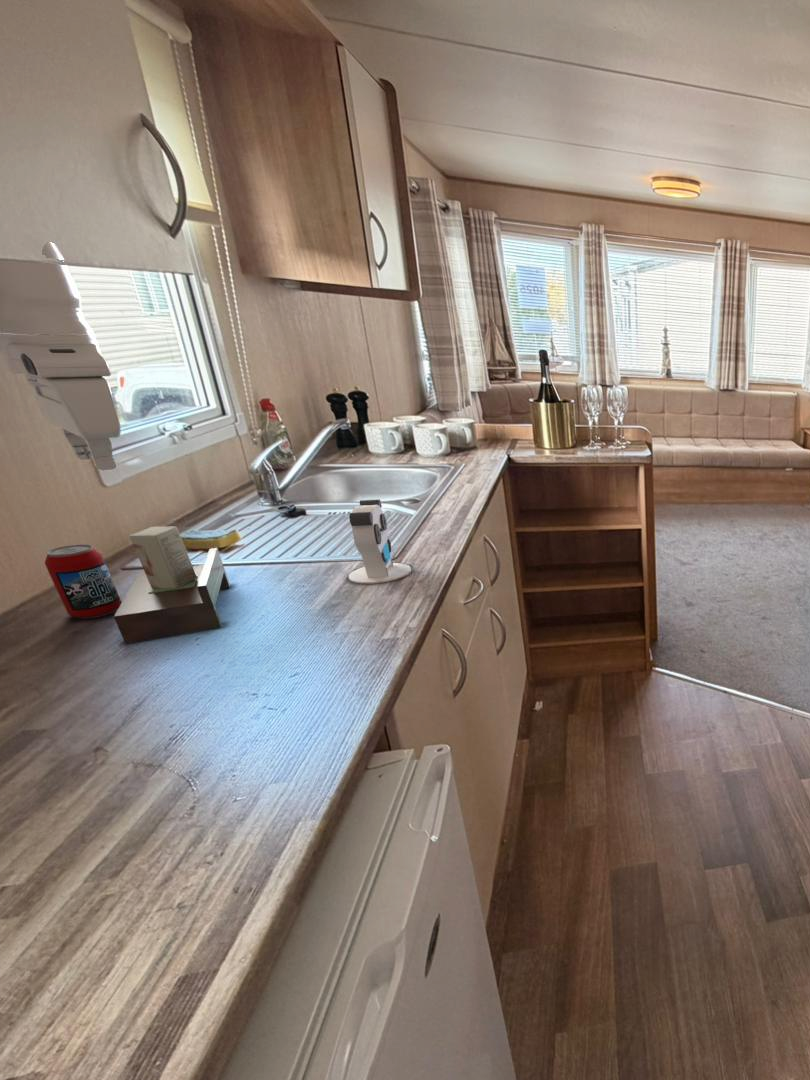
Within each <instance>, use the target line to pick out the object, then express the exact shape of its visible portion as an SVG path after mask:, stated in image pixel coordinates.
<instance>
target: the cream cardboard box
mask: <svg viewBox="0 0 810 1080" xmlns="http://www.w3.org/2000/svg"><path fill="white" fill-rule="evenodd" d="M128 537H129V539H130V542H131V544H132V546H133V548H134V550H135V553H136V555H137V558H138V559H139V562H140V564H141V567H142V569H143V572H145V574H146V576H147V578H148V581H149V583H150V585H151V588H158V589H163V588H165V589H171V588H179V587H181V586H183V585H185V584H186V583H188V582H190V581H192V580H194V579H196V578H197V576H196V574H195V571H194V569H193V566H194V565H193V564H192V562H191V558H190V556H189V554H188V551H187V549H186V545H185V544H184V541H183V538H182V536H181V533H180V530H179V529H178V527H177V526H175V525H174V526H168V525H167V526H159V525H156V526H155V525H154V526H152V525H151V526H149V527H146V528H144V529H141V530H138V531H136V532H134V533H131V534H129V535H128Z"/></svg>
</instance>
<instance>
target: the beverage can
mask: <svg viewBox="0 0 810 1080" xmlns="http://www.w3.org/2000/svg"><path fill="white" fill-rule="evenodd" d="M44 565H45V568H46V570H47V572H48V574H49V576H50V578H51V581H52V582H53V585H54V588H55V589H56V591H57V594H58V595H59V598H60V600H61V602H62V604H63V606H64V608H65V611H66V612H67V614H68V615H69V616H70V617H74V618H79V619H95V618H100V617H104V616H108V615H111V614H112V613H116V612H117V610H118V608H119V606H120V605H121V603H122V599H121V597H120V595H119V592H118V589H117V587H116V585H115V582H114V580H113V577H112V576H111V575H112V574H111V573H110V571H109V569H108V566H107V564H106V561H105V559H104V556H103V554H102V553H101V552H100V551H98V550H97V549H95V547H93V545H90V544H72V545H70V544H69V545H63V546H59V547H56V548H52V549H49V550H48V551H47V552H46V557H45V560H44Z"/></svg>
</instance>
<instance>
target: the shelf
mask: <svg viewBox="0 0 810 1080" xmlns="http://www.w3.org/2000/svg"><path fill="white" fill-rule="evenodd" d="M192 566H193V569H194V571H195V574H196V576H197V578H196V579H194V580H192V581H190V582H188V583H186V584H185V585H183V586H181V587H179V588H171V589H165V588H163V589H158V588H151V585H150V583H149V581H148V578H147V576H146V574H145V571H142V572H138V573H137V574H136V575H135V578H134V580H133V581H132V583H131V584H130V586H129V588H128V590H127V592H126V594H125V596H124V598H123V599H122V600H121V602H122V603H121V605H120V606H119V608H118V609H117V610H116V611H115V612H114V614H113V615H114V616H113V619H114V621H115V623H116V626H117V628H118V631H119V633H120V635H121V637H122V639H123V641H124V644H125V645H127V644H133V643H138V642H145V641H151V640H156V639H162V638H163V639H164V638H167V637H169V638H170V637H173V636H179V635H185V634H192V633H197V632H203V631H210V630H214V629H221V628H222V625H223V623H222V621H221V617H220V615H219V613H218V610H217V607H216V605H217V602H218V601H217V600H218V597H219V594H220V590H225V589H230V587H231V584H230V581H229V577H228V574H227V572H226V569H225V566H224V563H223V560H222V557H221V554H220V552H219V549H218V547H214V548H213V547H211V548H209V549H208V552H207V555H206V558H205V561H204V564H198V565H197V564H196V565H192Z"/></svg>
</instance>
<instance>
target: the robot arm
mask: <svg viewBox="0 0 810 1080" xmlns="http://www.w3.org/2000/svg"><path fill="white" fill-rule="evenodd" d="M42 255H45V256H46V258H56V259H59V260H65V261H66V259H65V258H64V256H63V254H62V252H61V250H60V248H59V247H58V245H57V244H56V242H55V243H52V242H49V243H48V242H47V243H46V244H45V245H44V247H43V249H42ZM63 262H64V261H63ZM81 299H82V298H81V294H80V292H79V290H78V288H77V284H76V282H75V279H74V277H73V274H72V273H71V270H70V268H69V266H68V264H67V265H58V264H51V263H24V262H16V261H0V355H1V358H2V360H3V362H4V366H5V367H6V371H8V372H9V373H13V374H24V376H25V378H26V382H27V384H28V385H29V386H30V387H31V389H32V392H33V394H34V397H35V399H36V402H37V406H38V407H39V410H40V412H41V414H42V416H43V418H44V419H45V421H46V422H48V423H50V424H51V425H54V426H56V427H58V428H59V429H60V430H61V433H62V435H63V436H64V438H65V439H66V441H67V443H68V444H69V445H70V448H71V450H72V452H73V454H74V456H75V457H76V458H77V459H80V460H92V462H93V465H94V467H95V468H96V469H98V470H100V471H108V470H114V469H116V468H117V464H116V461H115V458H114V455H113V447H112V441H111V439H113V438H114V439H115V438H119V437H120V436H121V433H122V432H121V429H122V428H121V422H120V418H119V414H118V411H117V407H116V403H115V400H114V395H113V393H112V389H111V387H110V384H109V380H108V379H106V377H111V376H112V371H111V368H110V366H109V363H108V361H107V360H106V358H105V357H104V356H103V354H102V351H101V349H100V347H99V344H98V341H97V339H96V336H95V333H94V330H93V329H92V328H91V326H90V325H89V324H88V322H87V321H86V319H85V317H84V314H83V312H82V311H83V310H82V300H81Z"/></svg>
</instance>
